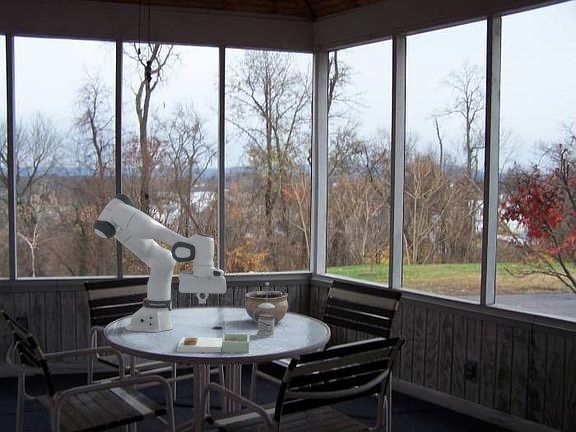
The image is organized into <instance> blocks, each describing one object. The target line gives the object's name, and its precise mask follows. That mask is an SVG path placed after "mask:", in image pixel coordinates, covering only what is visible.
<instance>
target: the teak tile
mask: <svg viewBox="0 0 576 432" xmlns="http://www.w3.org/2000/svg"><path fill="white" fill-rule="evenodd" d="M196 344H197V338H185V340H184V345H196Z"/></svg>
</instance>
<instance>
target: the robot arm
mask: <svg viewBox="0 0 576 432" xmlns="http://www.w3.org/2000/svg"><path fill="white" fill-rule="evenodd" d="M92 228H93V231H94V232H95V234H96V235H97V236H98V237H101V238H103V239H106V240H108V239H109V240H110V239H112V238H113V237H114V239H116V240H117V241H118V242H119V243H120V244H122V245H123V246H124V247H125V248H127V249H128V250H129V251H131V253H133V254H134V255H135V256H136V257H137V258H139V260H141V262H143V263H144V264H145V265H147V267H148V268H150V273H149V277H148V280H147V290H146V291H147V297H145V298H143V300H142V307H141V308H140V309H138V310H137V311H136V312H135V313H133V314H132V316H131V318H130V323H128V324H126V326H125V330H126V331H131V332H132V331H133V332H145V333H159V332H163V331H169V330H173V329H174V323H173V319H172V318H173V317H172V309H173V308H172V307H173V306H172V304H173V303H172V302H173V301H172V298H171V297H172V294H171V293H172V291H171V290H172V279H173V274H174V269H175V266H176V264H177V263H181V264H183V263H184V264H185V263H189V262H192V270H182V271H180V272H178V281H179V285H178V291H179V293H180V294H181V293H185V294H186V293H187V294H196V297H197V299H198V304H199V305H200V304H207V299H208V298H209V294H226V292H227V282H226V277H225V276H224V274H225V272H224V270H223V269H220V268H219V267H218V268H217V267H215V263H214V256H215V241H214V238H213V236H212V235H210V234H208V233H206V232H205V233H204V232H196V233H195V234H194V235H192V236H191V237H187V236H184V235H182V234H181V233H179V232H176V231H174V230H172V229H171V228H168V227H167V226H165V225H163V224H162V223H160V222H159V221H157V220H155V219H154V218H153V217H151V216H150V215H148V214H146V213H145V212H143V211H141V210H140V209H137V208H136V204H135V202H134V200H133V199H132V197H130V196H129V195H127V194H125V193H117V194H116V195H115V196H114V197H113V198H112V199H111V200H110V201H109V202H108V203H107V204H106V206H105V207H104V208H103V209H102V211H101V213H100V214H99V216H98V218H97V219H95V221H94V223H93V226H92ZM155 240H157V241H160V242H163V243H165V244H167V245H169V246H171V249H170V250H169V249H167V248H164V247H162V246H161V245H159V244H158V243H157V242H156V241H155ZM201 294H204V295H205V296H204V298H201V297H200V296H201Z"/></svg>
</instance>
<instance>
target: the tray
mask: <svg viewBox="0 0 576 432" xmlns="http://www.w3.org/2000/svg"><path fill="white" fill-rule="evenodd" d="M223 336H224V337H223V341H222V350H221V353H222V352H234V353H235V354H236V353H237V354H239V353H240V354H249V353H250V352H249V351H250V338H251V337H250V336H251V335H250V333H224V335H223ZM227 339H239V342H228V341H227ZM234 353H233V354H234Z"/></svg>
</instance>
